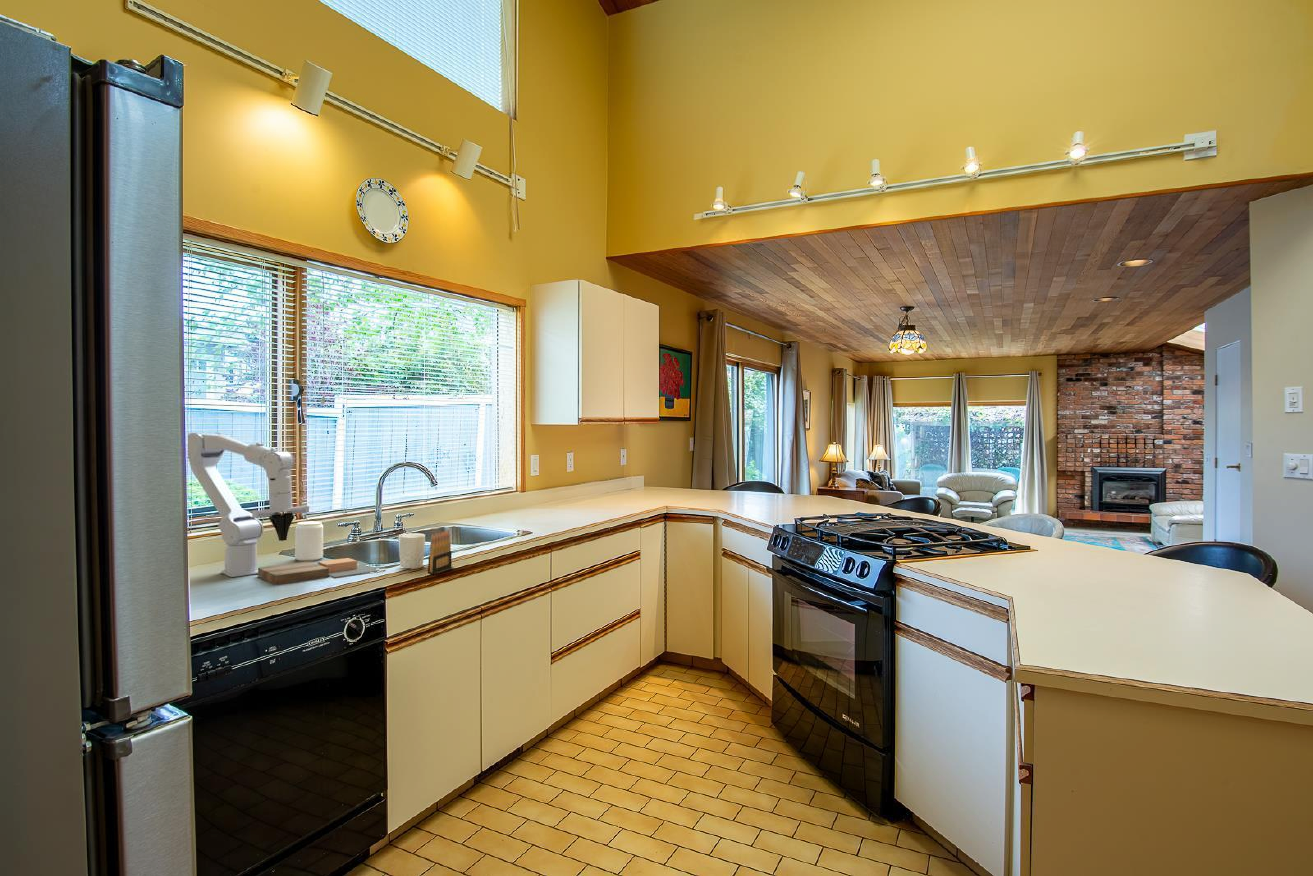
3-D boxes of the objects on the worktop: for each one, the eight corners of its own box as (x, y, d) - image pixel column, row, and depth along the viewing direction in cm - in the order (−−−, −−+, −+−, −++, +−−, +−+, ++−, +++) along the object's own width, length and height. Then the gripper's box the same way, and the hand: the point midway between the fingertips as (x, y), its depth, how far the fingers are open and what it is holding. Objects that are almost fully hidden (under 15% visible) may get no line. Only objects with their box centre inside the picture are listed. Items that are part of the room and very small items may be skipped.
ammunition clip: (433, 573, 197) (434, 534, 197) (427, 573, 198) (428, 533, 198) (451, 566, 208) (452, 529, 208) (446, 566, 208) (447, 528, 208)
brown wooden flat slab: (258, 576, 189) (258, 567, 189) (309, 569, 200) (309, 561, 200) (275, 584, 180) (276, 575, 180) (328, 576, 190) (328, 568, 190)
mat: (309, 568, 201) (309, 567, 201) (358, 562, 212) (358, 560, 212) (334, 578, 189) (334, 577, 189) (385, 570, 200) (385, 569, 200)
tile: (318, 569, 198) (318, 561, 198) (348, 565, 205) (348, 557, 204) (326, 572, 194) (326, 564, 194) (356, 568, 201) (356, 560, 201)
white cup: (398, 570, 201) (399, 537, 201) (397, 565, 208) (398, 534, 208) (425, 568, 205) (426, 536, 204) (423, 563, 212) (424, 532, 212)
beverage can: (303, 562, 209) (304, 525, 209) (289, 559, 214) (290, 522, 213) (327, 558, 216) (328, 522, 216) (314, 555, 220) (314, 520, 220)
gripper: (257, 496, 182) (259, 545, 182) (312, 491, 193) (314, 537, 193) (248, 495, 186) (250, 543, 186) (302, 490, 197) (305, 536, 197)
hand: (282, 540), depth 190 cm, fingers closed
